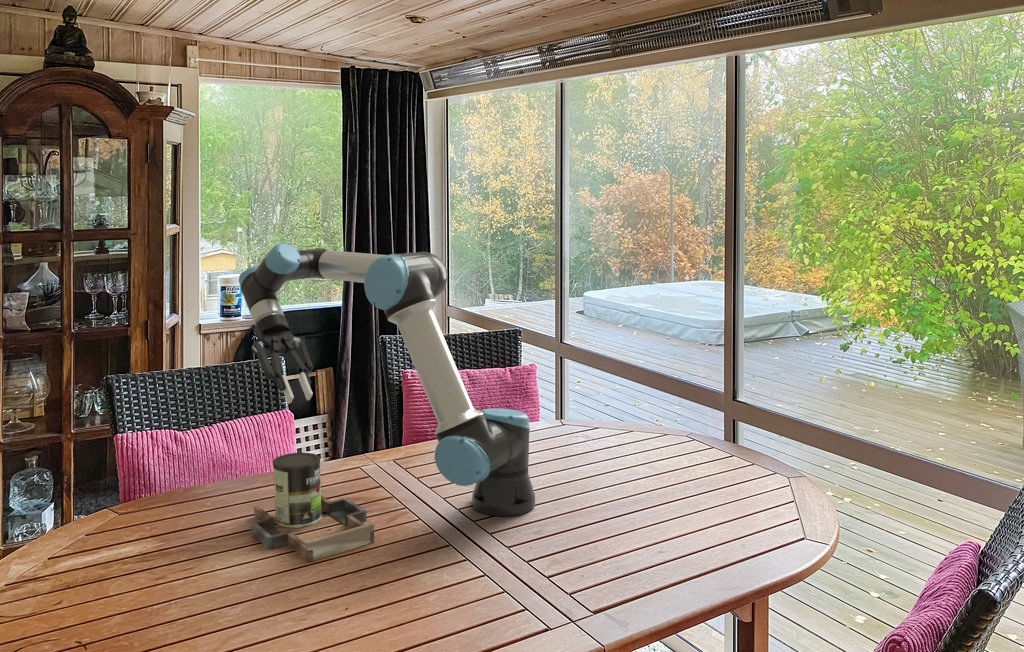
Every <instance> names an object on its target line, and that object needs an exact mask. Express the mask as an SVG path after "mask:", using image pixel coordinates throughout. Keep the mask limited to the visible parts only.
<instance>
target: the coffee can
mask: <svg viewBox="0 0 1024 652" xmlns="http://www.w3.org/2000/svg"><path fill="white" fill-rule="evenodd" d="M272 466H273V482H274V483H273V484H274V485H273V486H274V487H273V488H274V507H275V508H274V509H275V512H274V513H275V519H274V522H275V523H276V524H277V525H278V526H280V527H282V528H287V529H289V528H290V529H299V528H306V527H310V526H312V525H315V524H316V523H318V522H320V521H321V520H322V516H323V515H322V509H321V494H322V493H321V492H322V491H321V490H322V489H321V488H322V487H321V456H319V454H315V453H311V452H293V453H291V452H290V453H286V454H282V455H280V456H277V457H276V458H274V459H273V461H272Z"/></svg>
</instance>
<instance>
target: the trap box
mask: <svg viewBox="0 0 1024 652" xmlns="http://www.w3.org/2000/svg"><path fill="white" fill-rule="evenodd" d="M322 509H323V510H322ZM321 510H322V511H324V512H325V513H326V514H327V515H329V516H331V517H332V518H333V519H335V520H336V521H338V522H340V523H341V524H342V525H343V526H345V527H346V526H347V527H346V528H348V529H346V530H343V531H339V532H336V533H332V534H329V535H325V536H322V537H319V538H315V539H312V540H308V541H306V542H304V540H302V539H301V538H299V537H298V536H297V535H296V534H294V533H293V532H292V531H291V530H288V531H285V532H281V531H279V530H278V529H277V528H276V527H275V523H276V521H275V518H274V517H273V516H272V515H270V513H269V512H267V511H265V510H264V509H263V508H262V507H261V506H260V505H255V506H253V516H254V518H255V519H256V518H257V519H256V521H254V522H252V523H251V525H250V528H251V535H252V536H253V537H254V538H255V539H256V540H257V541H258V542H260V544H261V545H263V546H264V547H265V548H266V549H268V550H270V549H273V550H275V549H278V548H282V547H284V546H285V547H286V546H289V547H290V549H292V550H293V551H295V553H297V554H298V555H299V556H300V557H301V558H303V559H304V560H305V561H306V562H307V563H311V562H314V561H317V560H321V559H324V558H327V557H331V556H334V555H337V554H340V553H343V552H346V551H347V552H348V551H349V550H353V549H357V548H360V547H363V546H366V545H369V544H372V542H373V543H374V542H375V524H374V523H373V522H369V523H366V524H364V523H365V522H367V510H366V509H365V508H364V507H363V506H360V505H359V504H357V503H355V502H354V501H352V499H350V498H348V497H347V498H339V499H336V500H331V501H330V500H329V499H327V498H326V497H324V496H323V495H321ZM363 522H364V523H363ZM349 528H350V529H349ZM368 543H369V544H368ZM362 545H363V546H362Z"/></svg>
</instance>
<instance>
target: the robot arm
mask: <svg viewBox="0 0 1024 652" xmlns="http://www.w3.org/2000/svg"><path fill="white" fill-rule="evenodd" d="M304 279H325V280H335V281H345V282H353V283H361V284H362V283H363V287H364V292H365V296H366V299H367V300H368V302H369V303H370V304H371V305H372V306H374V307H375V308H377V309H379V310H382V311H384V314H385V317H386V319H387V321H388V322H390V323H392V324H395V325H397V328H398V330H399V332H400V334H401V335H400V336H401V337H402V340H403V342H404V344H405V347H406V350H407V352H408V354H409V356H410V359H411V361H412V365H413V366H414V369H415V371H416V374H417V376H418V378H419V381H420V382H421V386H422V388H423V390H424V393H425V394H426V397H427V400H428V403H429V404H430V406H431V409H432V412H433V414H434V417H435V419H436V421H437V427H436V428H435V429H436V430H435V432H434V435H435V438H436V439H437V441H438V442H437V443H438V444H437V445H436V447H435V453H434V462H435V466H436V467H437V470H438V471H439V472H440V474H441V475H442V476H443V477H444V478H445V479H446V480H448V482H451V483H453V484H454V485H456V486H460V487H469V486H472V485H474V484H475V485H474V489H473V490H472V497H471V505H472V507H473V508H474V509H475V510H476V511H478V512H480V513H482V514H486V515H490V516H497V517H513V516H519V515H523V514H526V513H528V512H530V511H532V510H533V509H534V507H535V506H536V493H535V490H534V488H533V485H532V481H531V478H530V475H529V463H530V462H529V461H530V460H529V455H530V453H529V452H530V429H531V428H530V418H529V416H528V414H526V413H524V412H523V411H519V410H517V409H511V408H510V409H509V408H498V407H497V408H486V409H482V410H481V411H480V410H478V409H476V408H475V407H474V406H473V403H472V401H471V399H470V396H469V393H468V391H467V389H466V386H465V383H464V382H463V381H464V380H462V376H461V375H460V372H459V370H458V369H459V368H457V365H456V362H455V360H454V358H453V356H452V353H451V350H450V348H449V346H448V344H447V342H446V339H445V336H444V334H443V332H442V330H441V327H440V325H439V322H438V320H437V318H436V315H435V312H434V307H435V305H436V303H437V301H436V298H437V297H438V296H439V295H441V294H442V292H443V291H444V290H445V287H446V286H447V282H448V270H447V267H446V265H445V263H444V262H443V260H442V259H441V258H440V257H439V256H437V255H436V254H434V253H431V252H428V251H416V252H405V253H389V254H388V255H387V254H376V253H375V254H374V253H366V252H365V253H364V252H363V253H362V252H354V251H353V252H352V251H351V252H350V251H340V250H331V249H330V248H323V247H322V248H321V247H320V248H319V247H317V248H316V247H315V248H314V249H302V250H301V249H300V250H299V249H298V250H297V249H296V247H294V246H293V245H291V244H286V243H285V242H280V243H279V242H278V243H277V244H275V245H273V247H272V248H271V250H269V251H268V252H267V253H266V255H265V256H264V258H263V259H262V261H261V262H260V263H259V265H258V266H252V267H248V268H246V269H245V270H243V271H242V272H241V273H240V275H239V277H238V283H239V287H240V291H241V295H242V296H243V299H244V301H245V303H246V306H247V308H248V311H249V313H250V316H251V319H252V321H253V323H254V325H255V329H256V332H257V334H258V337H259V339H260V341H254V342H253V345H252V347H251V351H252V353H254V354H255V355H256V357H257V360H258V362H259V365H260V366H261V369H262V371H263V374H264V377H265V378H266V380H267V381H270V380H272V381H273V383H275V384H276V385H277V388H278V390H279V391H280V392H283V393H284V397H285V400H286V402H287V405H288V404H291V403H292V402H293V400H294V398H295V396H294V394H293V391H292V388H291V386H290V383H289V381H288V378H287V376H286V374H283V373H282V366H281V359H280V354H283V355H284V356H285V357H287V359H288V360H289V361H290V363H291V364H292V365H293V367H294V369H295V370H296V371H297V373H298V381H299V383H300V386H301V389H302V391H303V394H304V397H305V399H306V401H310V400H311V399H312V397H313V394H314V393H313V391H312V388H311V385H312V380H311V377H310V375H309V374H311V373H312V371H313V369H314V365H313V361H312V359H311V357H310V353H309V351H308V349H307V345H306V337H305V336H303V335H302V336H300V337H297V336H294V334H293V333H291V331H290V326H289V324H288V322H287V319H286V317H285V314H284V311H283V309H282V307H281V304H280V302H279V300H278V298H277V293H278V291H280V289H281V288H282V287H283V286H284V284H285V283H286V282H289V281H296V280H297V281H298V280H304ZM293 344H295V347H296V348H297V351H298V353H297V352H296V349H295V347H294V345H293ZM265 349H266V350H268V351H269V355H270V358H271V362H270V360H269V358H268V356H267V353H266V351H265ZM531 509H532V510H531Z"/></svg>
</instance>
